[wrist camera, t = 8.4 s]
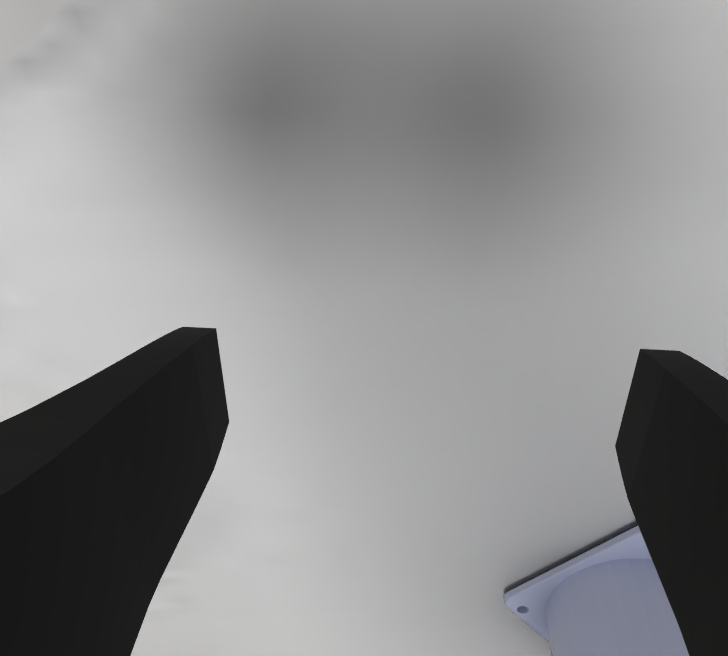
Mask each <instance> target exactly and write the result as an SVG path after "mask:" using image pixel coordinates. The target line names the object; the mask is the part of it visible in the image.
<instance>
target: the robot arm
mask: <svg viewBox="0 0 728 656" xmlns="http://www.w3.org/2000/svg"><path fill="white" fill-rule="evenodd" d="M228 424H229V418H228V411H227V403H226V396H225V389H224V382H223V375H222V368H221V361H220V354H219V347H218V340H217V332H216V328H195V327H181V328H179V329H177V330H174V331H172V332H170V333H168V334H166V335H164V336H162V337H161V338H159V339H157V340H155V341H153V342H151V343H150V344H148V345H146V346H144V347H143V348H141V349H139V350H137V351H136V352H134V353H132V354H130V355H129V356H127V357H125V358H123V359H122V360H120V361H118V362H116V363H115V364H113V365H111V366H109V367H108V368H106V369H104V370H102V371H100V372H99V373H97V374H95V375H93V376H92V377H90V378H88V379H86V380H84V381H82V382H80V383H78V384H77V385H75V386H73V387H71V388H69V389H67V390H65V391H63V392H61V393H59V394H57V395H55V396H54V397H52V398H50V399H48V400H46V401H44V402H42V403H40V404H38V405H36V406H34V407H32V408H30V409H28V410H26V411H24V412H22V413H20V414H18V415H16V416H13V417H11V418H9V419H7V420H5V421H3V422H0V656H130V655H131V652H132V650H133V647H134V644H135V641H136V639H137V636H138V633H139V631H140V628H141V625H142V623H143V620H144V617H145V614H146V612H147V609H148V606H149V604H150V602H151V599H152V597H153V595H154V593H155V590H156V588H157V586H158V584H159V581H160V579H161V577H162V575H163V573H164V571H165V569H166V567H167V565H168V563H169V561H170V559H171V557H172V555H173V553H174V551H175V549H176V546H177V544H178V542H179V540H180V538H181V536H182V534H183V532H184V530H185V528H186V526H187V524H188V522H189V520H190V518H191V516H192V514H193V512H194V510H195V508H196V506H197V504H198V502H199V500H200V498H201V495H202V493H203V491H204V489H205V487H206V485H207V483H208V481H209V479H210V477H211V474H212V472H213V470H214V467H215V464H216V461H217V459H218V456H219V453H220V450H221V447H222V443H223V440H224V437H225V434H226V430H227V427H228ZM615 447H616V452H617V456H618V461H619V465H620V469H621V474H622V478H623V482H624V486H625V490H626V493H627V497H628V500H629V503H630V506H631V508H632V511H633V514H634V516H635V519H636V521H637V524H638V526H636V527H634V528H632V529H630V530H628V531H626V532H624V533H622V534H620V535H618V536H616V537H614V538H612V539H611V540H609V541H607V542H605V543H603V544H601V545H599V546H597V547H595V548H593V549H591V550H589V551H587V552H585V553H583V554H581V555H579V556H577V557H575V558H573V559H571V560H569V561H567V562H565V563H563V564H561V565H559V566H557V567H555V568H553V569H551V570H550V571H548V572H546V573H544V574H542V575H540V576H538V577H536V578H534V579H532V580H530V581H528V582H526V583H524V584H522V585H520V586H518V587H516V588H514V589H512V590H510V591H508V592H507V593H506V594H505V595H504V602H505V606H506V607H507V608H508V609H509V610H511V611H512V612H513V613H514V614H516V615H517V616H518V617H519V618H520V619H522V620H523V621H524V622H525V623H527V624H528V625H529V626H530V627H531V628H533V629H534V630H535V631H536V632H538V633H539V634H540V635H541V636H542V637H544V638H545V639H546V640H547V641H549V642H550V646H551V651H552V656H728V380H727V379H726V378H724V377H723V376H721V375H719V374H718V373H716V372H715V371H713V370H711V369H710V368H708V367H707V366H705V365H704V364H702V363H700V362H699V361H697V360H695V359H693V358H692V357H690V356H688V355H686V354H684V353H682V352H680V351H671V350H650V349H640V352H639V356H638V360H637V363H636V367H635V371H634V375H633V379H632V383H631V387H630V391H629V395H628V399H627V402H626V406H625V410H624V414H623V418H622V422H621V426H620V430H619V434H618V438H617V441H616V445H615Z"/></svg>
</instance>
